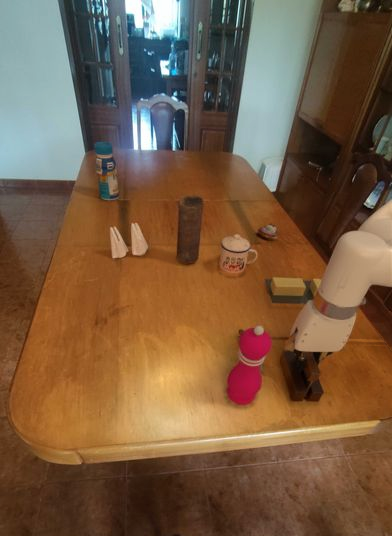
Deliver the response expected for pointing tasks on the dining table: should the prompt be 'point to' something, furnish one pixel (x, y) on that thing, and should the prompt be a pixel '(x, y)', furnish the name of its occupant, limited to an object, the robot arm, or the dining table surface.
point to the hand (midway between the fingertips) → (303, 367)
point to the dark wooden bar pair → (298, 381)
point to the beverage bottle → (106, 171)
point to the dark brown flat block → (310, 370)
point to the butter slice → (314, 285)
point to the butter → (287, 286)
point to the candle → (189, 228)
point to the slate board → (291, 299)
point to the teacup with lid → (235, 254)
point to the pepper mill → (248, 366)
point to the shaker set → (119, 246)
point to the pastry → (268, 232)
